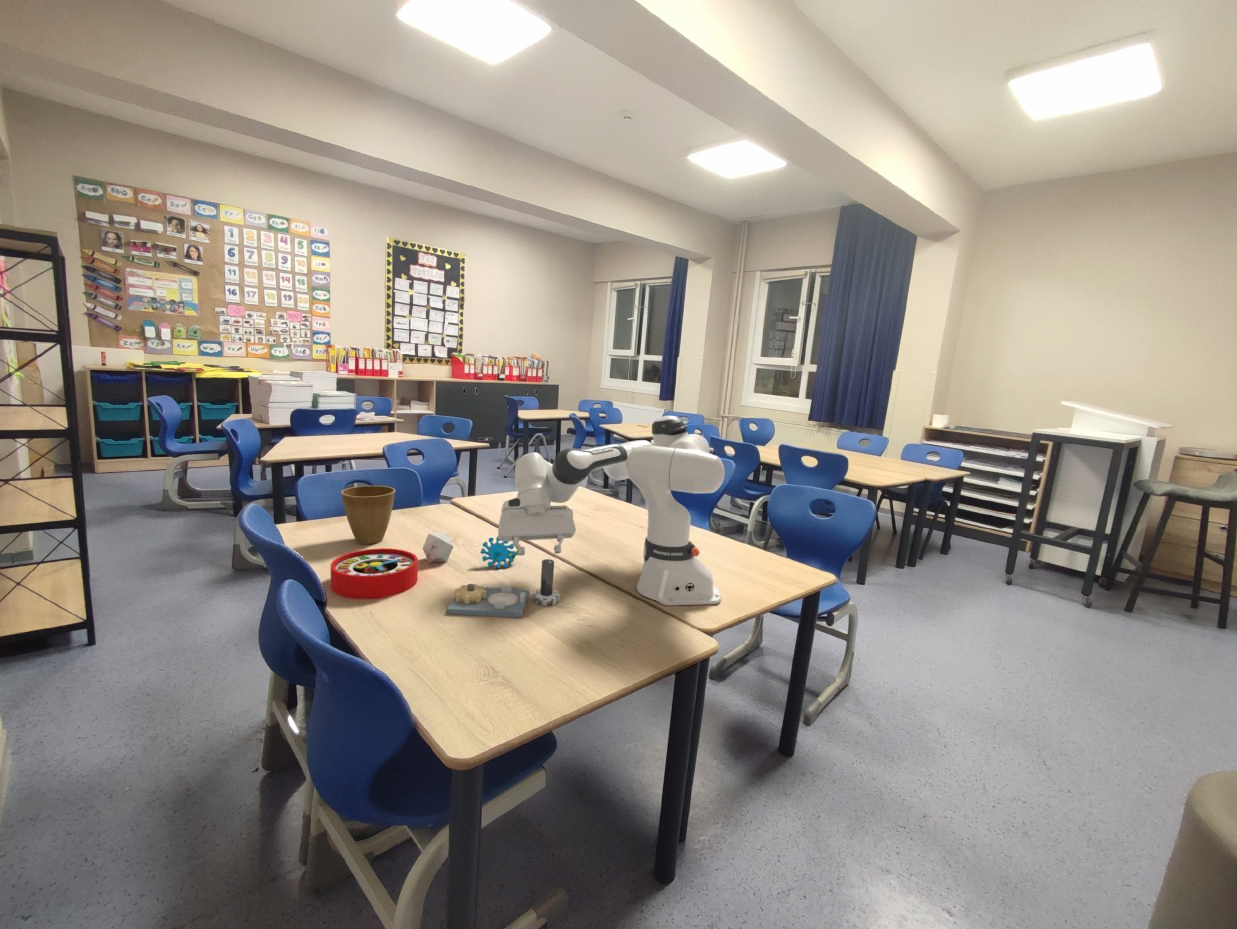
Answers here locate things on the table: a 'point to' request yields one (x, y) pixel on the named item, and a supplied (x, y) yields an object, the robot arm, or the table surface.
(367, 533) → the plant pot
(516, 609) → the gear board
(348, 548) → the table surface
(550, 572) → the gear
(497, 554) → the virus model
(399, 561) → the toy clock
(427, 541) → the die
